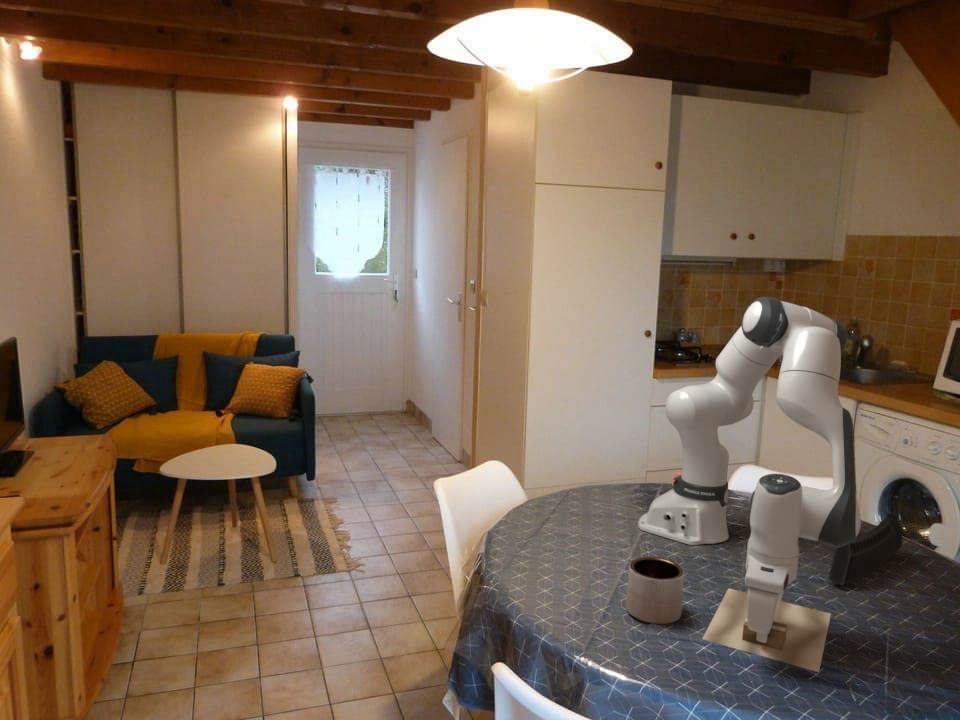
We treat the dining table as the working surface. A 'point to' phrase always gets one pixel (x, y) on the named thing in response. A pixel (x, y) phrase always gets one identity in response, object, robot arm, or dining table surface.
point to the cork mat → (801, 622)
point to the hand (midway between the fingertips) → (764, 633)
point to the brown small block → (774, 637)
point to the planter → (655, 590)
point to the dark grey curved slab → (866, 552)
